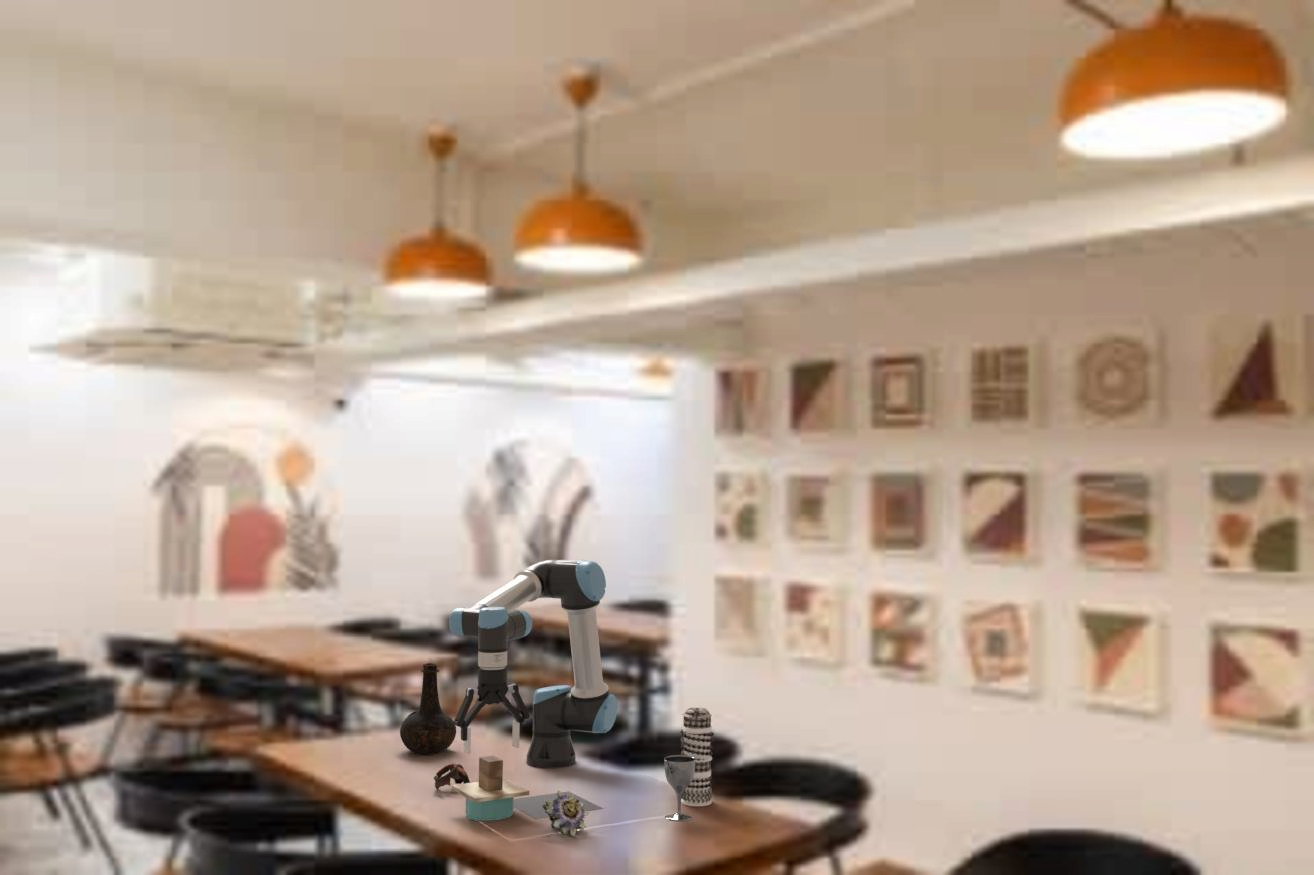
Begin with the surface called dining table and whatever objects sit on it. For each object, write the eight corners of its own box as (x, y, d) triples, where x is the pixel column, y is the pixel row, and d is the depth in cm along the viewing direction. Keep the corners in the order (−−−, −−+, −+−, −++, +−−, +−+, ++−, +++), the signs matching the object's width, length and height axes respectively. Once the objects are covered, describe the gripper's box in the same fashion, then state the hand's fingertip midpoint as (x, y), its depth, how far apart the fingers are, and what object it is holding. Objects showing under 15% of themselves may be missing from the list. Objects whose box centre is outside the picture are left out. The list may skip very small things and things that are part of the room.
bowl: (501, 807, 305) (502, 784, 305) (520, 818, 295) (521, 794, 295) (459, 813, 298) (459, 789, 299) (477, 824, 288) (477, 800, 289)
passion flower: (571, 858, 280) (558, 825, 274) (540, 841, 287) (526, 809, 281) (601, 825, 286) (588, 792, 280) (570, 808, 293) (557, 776, 287)
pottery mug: (470, 796, 317) (456, 772, 315) (440, 810, 318) (426, 785, 317) (478, 775, 329) (464, 751, 327) (449, 788, 330) (436, 764, 328)
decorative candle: (689, 808, 306) (690, 713, 307) (673, 800, 314) (674, 707, 315) (719, 804, 310) (720, 711, 311) (702, 796, 318) (703, 705, 320)
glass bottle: (429, 743, 381) (431, 658, 382) (467, 750, 370) (469, 663, 372) (387, 752, 366) (389, 664, 368) (426, 760, 356) (428, 669, 357)
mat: (568, 793, 320) (568, 791, 320) (603, 810, 303) (603, 808, 303) (502, 802, 309) (502, 800, 309) (534, 821, 292) (534, 819, 292)
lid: (504, 782, 307) (505, 750, 308) (529, 795, 294) (530, 761, 295) (451, 789, 299) (452, 756, 300) (474, 802, 286) (475, 768, 287)
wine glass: (698, 815, 300) (698, 756, 300) (689, 823, 292) (689, 763, 293) (669, 811, 302) (670, 754, 303) (659, 819, 295) (660, 760, 296)
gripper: (452, 673, 289) (451, 759, 288) (542, 665, 302) (541, 747, 301) (441, 669, 295) (440, 752, 294) (530, 661, 308) (529, 741, 307)
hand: (491, 750), depth 298 cm, fingers open, 13 cm apart
